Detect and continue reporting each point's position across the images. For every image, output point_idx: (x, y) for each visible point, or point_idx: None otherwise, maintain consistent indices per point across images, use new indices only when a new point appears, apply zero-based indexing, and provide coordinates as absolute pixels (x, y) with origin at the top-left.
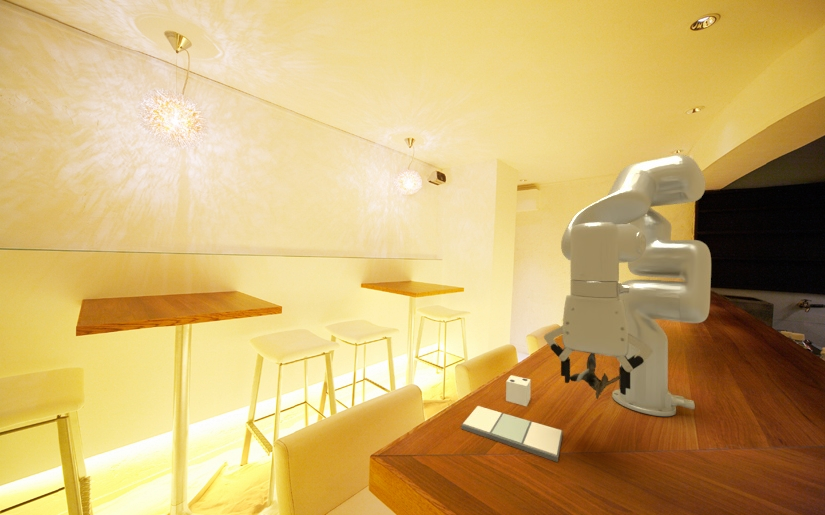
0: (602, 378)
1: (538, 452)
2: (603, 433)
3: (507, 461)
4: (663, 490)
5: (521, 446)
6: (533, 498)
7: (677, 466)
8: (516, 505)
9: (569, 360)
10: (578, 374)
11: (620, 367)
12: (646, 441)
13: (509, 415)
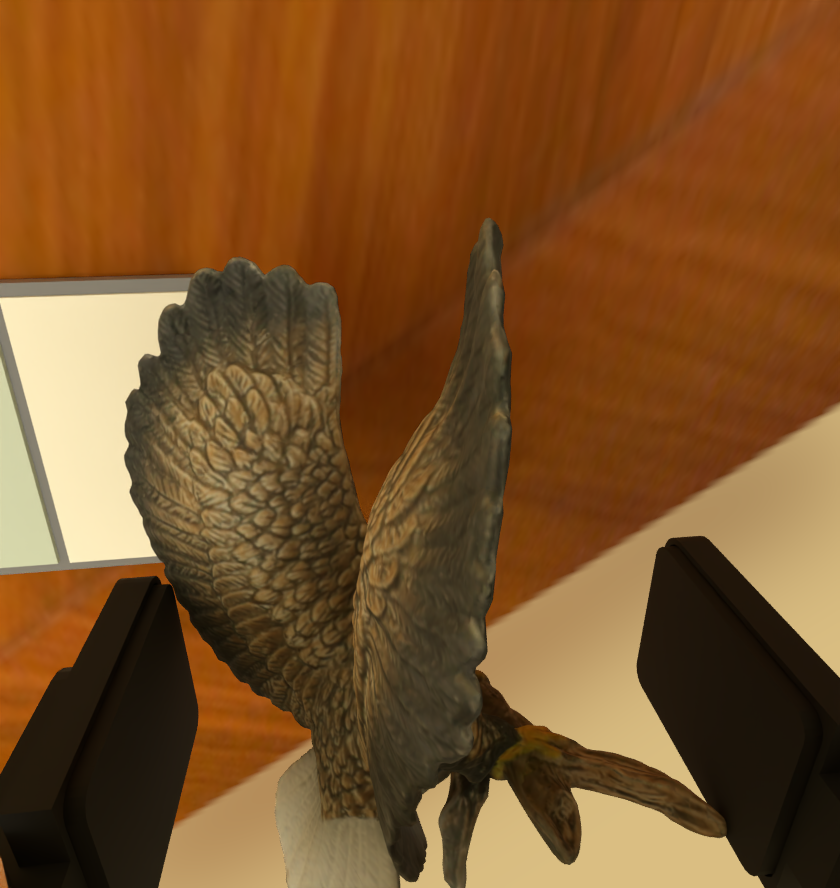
0: (525, 809)
1: (154, 560)
2: (427, 74)
3: (66, 661)
4: (617, 465)
5: (69, 566)
6: (223, 758)
7: (736, 230)
8: (189, 806)
9: (106, 885)
10: (259, 621)
11: (810, 753)
12: (666, 11)
13: None
